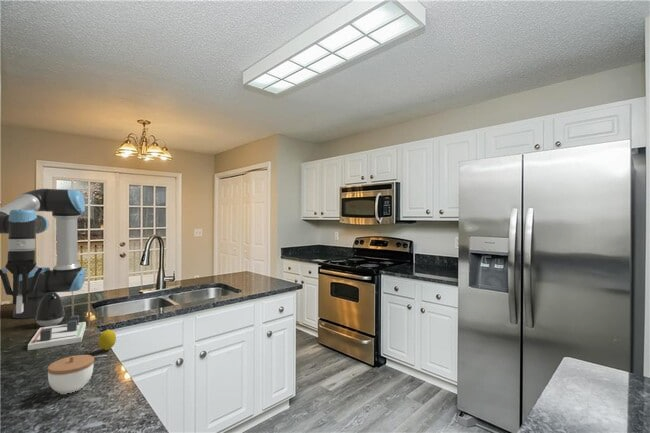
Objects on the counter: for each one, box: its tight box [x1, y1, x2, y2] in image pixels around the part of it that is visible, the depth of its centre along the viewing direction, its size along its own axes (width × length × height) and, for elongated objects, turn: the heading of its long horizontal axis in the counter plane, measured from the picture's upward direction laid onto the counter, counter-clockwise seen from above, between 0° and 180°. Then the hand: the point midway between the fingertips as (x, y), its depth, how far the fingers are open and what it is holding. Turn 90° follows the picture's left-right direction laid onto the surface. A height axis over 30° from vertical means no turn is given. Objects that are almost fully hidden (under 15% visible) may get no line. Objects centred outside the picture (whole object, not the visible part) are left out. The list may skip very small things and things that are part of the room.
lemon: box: [98, 328, 117, 351], centre depth 120 cm, size 6×6×8 cm
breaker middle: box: [66, 320, 77, 331], centre depth 135 cm, size 3×3×4 cm
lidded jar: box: [47, 354, 95, 395], centre depth 93 cm, size 11×11×9 cm
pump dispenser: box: [34, 292, 66, 327], centre depth 147 cm, size 10×10×15 cm
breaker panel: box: [27, 321, 87, 351], centre depth 133 cm, size 22×16×2 cm
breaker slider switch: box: [40, 328, 52, 341], centre depth 124 cm, size 3×3×4 cm
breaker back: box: [69, 314, 80, 325], centre depth 142 cm, size 3×3×4 cm
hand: (19, 312), depth 120 cm, fingers closed
